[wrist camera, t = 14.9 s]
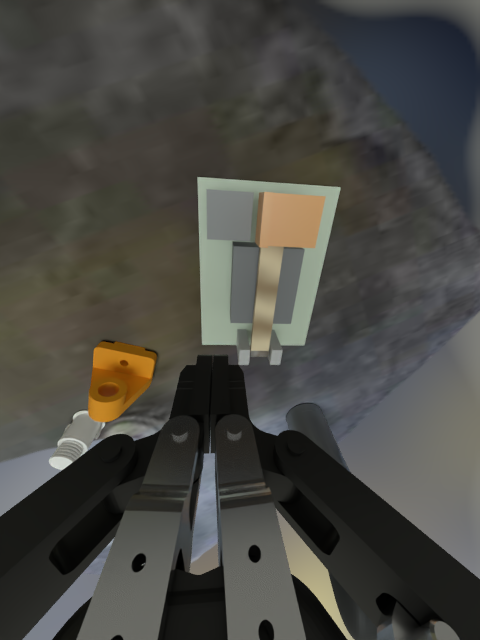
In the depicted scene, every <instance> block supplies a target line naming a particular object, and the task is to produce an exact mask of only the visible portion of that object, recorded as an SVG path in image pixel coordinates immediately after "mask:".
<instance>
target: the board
mask: <svg viewBox="0 0 480 640" xmlns="http://www.w3.org/2000/svg"><path fill="white" fill-rule="evenodd" d="M340 188H341V187H330V186H316V185H302V184H288V183H274V182H260V181H246V180H232V179H218V178H204V177H198V212H199V248H200V285H201V322H202V345H237V354H238V363H239V365H249V357H250V346H249V345H251V334H252V324H253V314H254V303H255V293H256V283H257V272H258V262H259V252H260V247H258V245H257V244H256V243H255V236H256V224H257V212H258V200H259V193H260V192H274V193H284V194H299V195H313V196H326V198H325V202H324V207H323V212H322V217H321V222H320V227H319V232H318V236H317V241H316V246H315V248H300V247H284V249H283V256H282V263H281V270H280V277H279V284H278V290H277V297H276V304H275V311H274V318H273V325H272V332H271V338H270V345H269V355H268V359H269V363H270V365H280V362H281V356H282V348H281V345H305V341H306V336H307V332H308V327H309V323H310V319H311V314H312V310H313V306H314V301H315V297H316V293H317V288H318V284H319V280H320V275H321V271H322V267H323V262H324V258H325V254H326V249H327V245H328V241H329V236H330V232H331V227H332V223H333V219H334V214H335V210H336V206H337V201H338V197H339V193H340Z"/></svg>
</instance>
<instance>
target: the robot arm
mask: <svg viewBox="0 0 480 640" xmlns="http://www.w3.org/2000/svg"><path fill="white" fill-rule="evenodd" d="M286 421H287V424H288V428H289V430H286V431H283V432H281V433H280V434H279V435H278V436H276V435H273V434H269V433H266V432H263V431H261V430H259V429H258V428H256V427H255V426H254V425H253V423H252V422H251V420H250V418H249V413H248V405H247V397H246V389H245V382H244V373H243V371H242V369H241V368H240V367H239V365H228V355H214V357H213V356H212V355H198V357H197V363H196V365H186V367H185V368H184V369H183V370H182V371H181V373H180V377H179V382H178V385H177V390H176V394H175V398H174V402H173V406H172V411H171V415H170V418H169V420H168V421H167V422H166V423H165V424H164V426H163V427H162V429H161V430H160V431H158V432H157V433H155V434H153V435H151V436H148V437H145V438H142V439H139V440H136V441H134V440H133V439H132V437H130V436H128V435H125V434H116V435H112V436H110V437H107V438H105V439H104V440H102V441H101V442H99V443H98V444H97V445H95V446H94V447H93V448H92V449H90V450H89V451H87V452H86V453H85V454H83V455H82V456H81V457H79V458H78V459H77V460H75V461H74V462H73V463H71V464H70V465H69V466H67V467H66V468H65V469H63V470H62V471H61V472H59V473H58V474H57V475H55V476H54V477H53V478H51V479H50V480H49V481H47V482H46V483H44V484H43V485H42V486H40V487H39V488H38V489H37V490H35V491H34V492H33V493H31V494H30V495H28V496H27V497H26V498H25V499H23V500H22V501H20V502H19V503H18V504H16V505H15V506H14V507H12V508H11V509H10V510H9V511H7V512H6V513H4V514H3V515H2V516H1V517H0V640H22V639H23V638H24V637H25V636H26V635H27V634H28V633H29V631H30V630H31V629H32V628H33V627H34V626H35V625H36V624H37V623H38V621H39V620H40V619H41V618H42V617H43V616H44V615H45V614H46V612H48V610H49V609H50V608H51V607H52V606H53V605H54V604H55V603H56V601H57V600H58V599H59V598H60V597H61V596H62V595H63V593H65V591H66V590H67V589H68V588H69V587H70V586H71V585H72V584H73V583H74V582H75V580H76V579H77V578H78V577H79V576H80V575H81V574H82V573H83V572H84V570H85V569H86V568H87V567H88V566H89V565H90V564H91V563H92V562H93V560H94V559H95V558H96V557H97V556H98V555H99V554H100V553H101V552H102V550H103V549H104V548H105V547H106V546H107V545H108V544H109V543H110V542H111V541H112V539H113V538H114V537H115V538H114V541H113V543H112V546H111V549H110V551H109V554H108V557H107V559H106V562H105V565H104V567H103V570H102V573H101V575H100V578H99V581H98V583H97V586H96V589H95V591H94V594H93V596H92V597H91V598H90V599H89V600H88V601H87V602H86V603H85V604H83V605H82V606H81V607H80V608H79V609H78V610H77V611H76V612H75V613H74V615H73V616H72V617H71V618H70V619H69V620H68V621H67V622H66V623H65V624H64V626H63V627H62V628H61V629H60V631H59V632H58V633H57V634H56V636H55V637H54V638H53V639H52V640H347V639H346V637H345V636H344V634H343V633H342V632H341V630H340V629H339V628H338V626H337V625H336V623H335V622H334V621H333V619H332V618H331V616H330V615H329V614H328V612H327V611H326V609H325V608H324V607H323V605H322V604H321V603H320V601H319V600H318V599H317V597H316V596H315V595H314V594H313V593H312V592H311V591H310V589H309V588H308V587H307V586H306V585H305V584H304V583H302V582H301V581H300V580H299V579H298V578H296V577H295V576H294V575H292V574H291V573H290V568H289V564H288V560H287V555H286V551H285V547H284V543H283V539H282V534H281V530H280V526H279V522H278V518H277V513H276V509H277V510H278V511H279V513H280V514H281V515H282V516H283V517H284V518H285V520H286V521H287V522H288V523H289V524H290V525H291V527H292V528H293V529H294V530H295V531H296V533H297V534H298V535H299V536H300V537H301V538H302V540H303V541H304V542H305V543H306V544H307V546H308V547H309V548H310V549H311V550H312V551H313V553H314V554H315V555H316V556H317V557H318V559H319V560H320V561H321V562H322V563H323V565H324V566H325V567H326V568H327V569H328V572H329V576H330V580H331V584H332V588H333V592H334V596H335V599H336V602H337V606H338V609H339V612H340V615H341V617H342V619H343V622H344V624H345V626H346V628H347V630H348V632H349V633H350V635H351V636H352V637H353V638H354V639H355V640H480V579H479V578H478V577H476V576H475V575H474V574H473V573H471V572H470V571H469V570H468V569H467V568H465V567H464V566H463V565H462V564H461V563H459V562H458V561H457V560H456V559H454V558H453V557H452V556H451V555H450V554H448V553H447V552H446V551H445V550H444V549H442V548H441V547H440V546H439V545H437V544H436V543H435V542H434V541H433V540H432V539H430V538H429V537H428V536H427V535H425V534H424V533H423V532H422V531H421V530H419V529H418V528H417V527H416V526H415V525H413V524H412V523H411V522H410V521H409V520H407V519H406V518H405V517H404V516H402V515H401V514H400V513H399V512H398V511H396V510H395V509H394V508H393V507H392V506H390V505H389V504H388V503H387V502H386V501H384V500H383V499H382V498H381V497H379V496H378V495H377V494H376V493H375V492H373V491H372V490H371V489H370V488H369V487H367V486H366V485H365V484H364V483H363V482H361V481H360V480H359V479H358V478H356V477H355V476H354V475H353V474H351V472H350V470H349V468H348V466H347V464H346V462H345V460H344V458H343V456H342V453H341V451H340V449H339V447H338V445H337V443H336V441H335V438H334V436H333V434H332V432H331V430H330V428H329V426H328V423H327V421H326V419H325V417H324V415H323V413H322V411H321V409H320V407H318V406H317V405H315V404H308V403H307V404H301V405H298V406H296V407H294V408H292V409H291V410H290V411H289V412H288V414H287V416H286ZM210 427H211V453H215V486H216V508H217V530H218V563H219V567H217V568H215V569H213V570H211V571H209V572H206V573H204V574H202V575H194V574H191V573H189V571H190V563H191V554H192V540H193V531H194V524H195V517H196V510H197V503H198V496H199V489H200V482H201V474H202V469H203V458H204V453H209V446H210ZM275 508H276V509H275Z"/></svg>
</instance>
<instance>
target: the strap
mask: <svg viewBox="0 0 480 640" xmlns="http://www.w3.org/2000/svg"><path fill="white" fill-rule="evenodd" d="M283 249H284V247H278V246H268V248H260V252H259V262H258V272H257V283H256V293H255V303H254V314H253V324H252V334H251V345H250V357H268V355H269V345H270V338H271V332H272V325H273V318H274V311H275V304H276V297H277V290H278V284H279V277H280V270H281V263H282V256H283Z"/></svg>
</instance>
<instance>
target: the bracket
mask: <svg viewBox="0 0 480 640" xmlns="http://www.w3.org/2000/svg"><path fill="white" fill-rule="evenodd" d="M156 359H157V355H156V354H155V353H154V352H150V351H145V348H143V347H139V346H134V345H130V344H125V343H121V342H116V341H115V343H114V344H113V343H109V342H100V343H99V344H98V345H97V347H96V348H95V349H94V357H93V370H92V378H91V386H90V389H89V404H88V414H89V416H90V418H91V419H93V420H94V421H97V422H109V421H112V420H114V419H116V418H118V417H119V416H120V415H121V414H122V413H123V412H124V411H125V410H126V409H127V408H128V407H129V406H130V405H131V404H132V403H133V402H134V401H135V400H136V399H137V398H138V397H139V396H140V395H141V394H142V393H143V392H144V391H145V390H146V389H147V388H148V387H149V386H150V384H151V381H152V377H153V373H154V368H155V364H156Z"/></svg>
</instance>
